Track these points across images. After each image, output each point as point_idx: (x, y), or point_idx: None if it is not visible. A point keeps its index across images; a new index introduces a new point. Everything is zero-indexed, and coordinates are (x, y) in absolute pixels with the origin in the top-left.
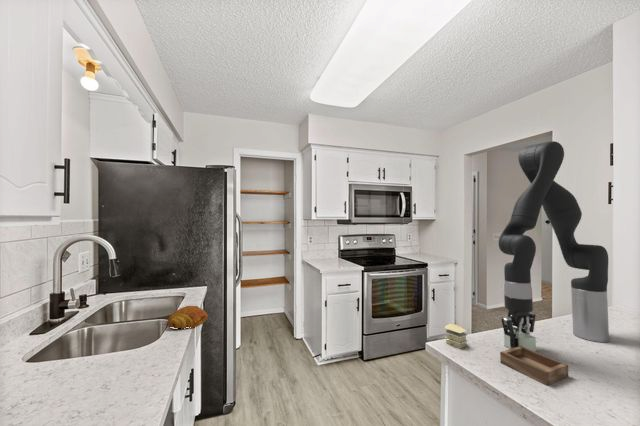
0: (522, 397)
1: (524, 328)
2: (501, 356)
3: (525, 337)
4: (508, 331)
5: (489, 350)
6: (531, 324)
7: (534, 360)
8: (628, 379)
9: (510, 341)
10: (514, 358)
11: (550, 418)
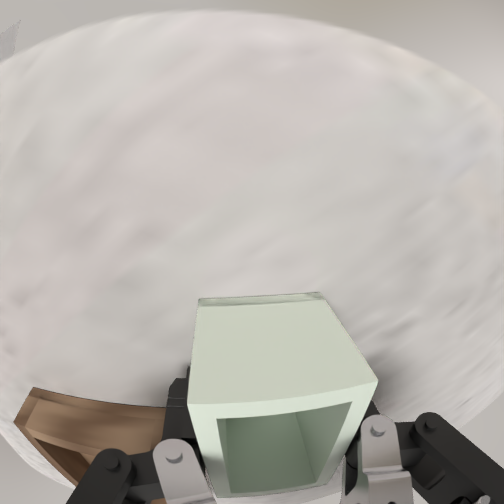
0: (21, 448)
1: (347, 496)
2: (23, 411)
3: (317, 442)
4: (247, 416)
5: (43, 295)
6: (423, 494)
7: None
8: (338, 490)
9: (166, 412)
10: (46, 459)
11: (40, 472)
